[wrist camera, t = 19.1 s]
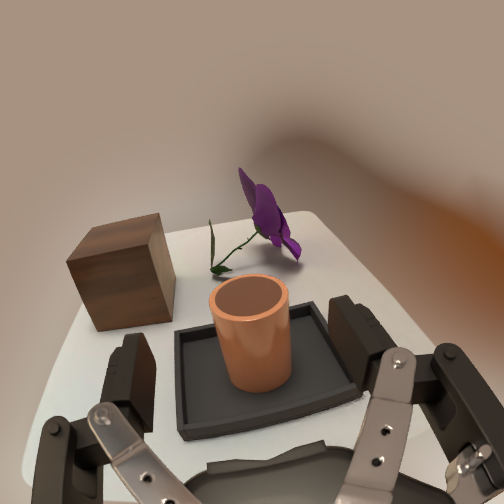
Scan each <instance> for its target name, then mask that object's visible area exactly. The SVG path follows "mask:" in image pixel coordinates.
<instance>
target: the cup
mask: <svg viewBox="0 0 504 504" xmlns="http://www.w3.org/2000/svg"><path fill="white" fill-rule="evenodd" d="M209 306H210V310H211V314H212V318H213V322H214V325H215V329H216V333H217V337H218V341H219V344H220V348H221V352H222V355H223V359H224V363H225V366H226V370H227V373H228V377H229V379H230V381H231V382H232V383H233V384H234V385H235V386H236V387H237V388H239V389H241V390H243V391H246V392H251V393H264V392H268V391H272V390H274V389H276V388H278V387H280V386H281V385H283V384H284V383H285V382H286V381H287V380H288V378H289V377H290V375H291V372H292V367H293V366H292V345H291V327H290V310H289V294H288V289H287V287H286V285H285V284H284V283H283V282H282V281H280V280H279V279H277V278H275V277H272V276H268V275H263V274H248V275H242V276H237V277H234V278H231V279H229V280H227V281H225V282H223V283H221V284H220V285H219V286H217V287H216V288H215V289H214V290H213V292H212V293H211V295H210V298H209Z"/></svg>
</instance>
